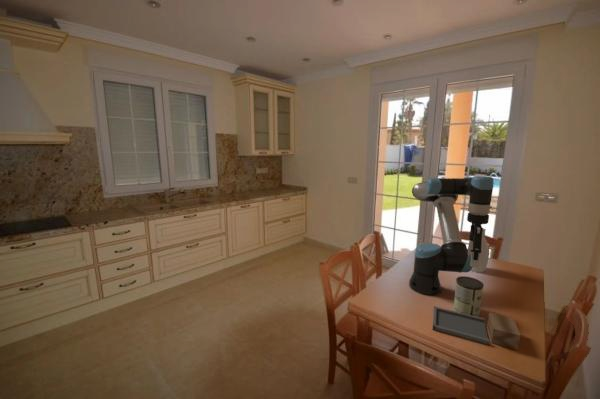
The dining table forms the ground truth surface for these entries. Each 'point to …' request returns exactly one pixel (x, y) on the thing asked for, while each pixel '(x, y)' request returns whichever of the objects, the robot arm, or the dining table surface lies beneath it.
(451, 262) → the robot arm
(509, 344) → the ledge block
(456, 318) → the tray mat
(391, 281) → the dining table surface
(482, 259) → the bottle
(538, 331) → the dining table surface
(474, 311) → the coffee can
